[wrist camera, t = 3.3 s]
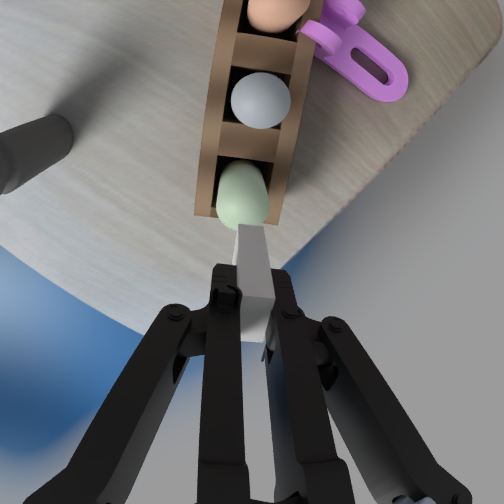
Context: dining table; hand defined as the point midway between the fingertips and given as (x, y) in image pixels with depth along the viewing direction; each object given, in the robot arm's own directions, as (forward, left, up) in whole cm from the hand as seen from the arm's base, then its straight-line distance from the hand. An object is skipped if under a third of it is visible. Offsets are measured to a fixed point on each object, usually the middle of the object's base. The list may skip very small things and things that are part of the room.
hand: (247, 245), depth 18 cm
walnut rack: (-8, 0, -16) cm, 18 cm away
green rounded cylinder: (0, 0, -12) cm, 12 cm away
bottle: (-2, -23, -16) cm, 28 cm away
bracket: (-15, +9, -16) cm, 24 cm away
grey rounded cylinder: (-8, 0, -12) cm, 14 cm away
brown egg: (-16, 0, -12) cm, 20 cm away
